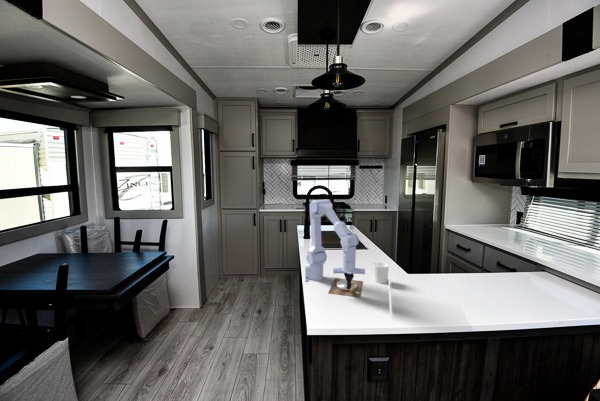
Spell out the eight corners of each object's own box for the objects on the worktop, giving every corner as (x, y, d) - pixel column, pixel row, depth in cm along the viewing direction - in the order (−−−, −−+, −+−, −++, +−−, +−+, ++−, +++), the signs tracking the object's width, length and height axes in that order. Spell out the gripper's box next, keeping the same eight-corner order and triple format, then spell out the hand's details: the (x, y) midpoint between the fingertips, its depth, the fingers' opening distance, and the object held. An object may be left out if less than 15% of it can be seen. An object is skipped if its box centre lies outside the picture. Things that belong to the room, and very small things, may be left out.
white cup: (370, 284, 144) (371, 265, 142) (374, 278, 150) (374, 261, 149) (386, 287, 140) (387, 268, 139) (389, 281, 147) (389, 263, 146)
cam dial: (334, 283, 141) (334, 272, 141) (352, 281, 143) (353, 271, 142) (342, 296, 127) (342, 285, 126) (363, 294, 128) (363, 283, 128)
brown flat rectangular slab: (328, 295, 130) (328, 292, 130) (334, 280, 149) (334, 276, 148) (360, 300, 126) (360, 296, 126) (363, 283, 144) (363, 280, 144)
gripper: (334, 262, 123) (333, 291, 125) (366, 263, 122) (365, 292, 124) (332, 257, 130) (332, 285, 132) (363, 258, 129) (362, 285, 131)
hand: (348, 288), depth 128 cm, fingers closed, pressing on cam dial
